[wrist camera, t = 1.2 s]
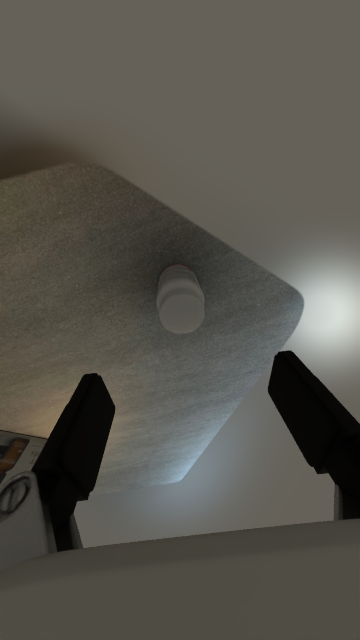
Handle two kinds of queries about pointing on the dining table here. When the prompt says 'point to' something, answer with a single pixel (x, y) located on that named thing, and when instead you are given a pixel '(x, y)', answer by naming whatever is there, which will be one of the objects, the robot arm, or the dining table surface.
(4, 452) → the skincare box
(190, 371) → the dining table surface
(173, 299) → the pill bottle
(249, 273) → the dining table surface
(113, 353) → the dining table surface
